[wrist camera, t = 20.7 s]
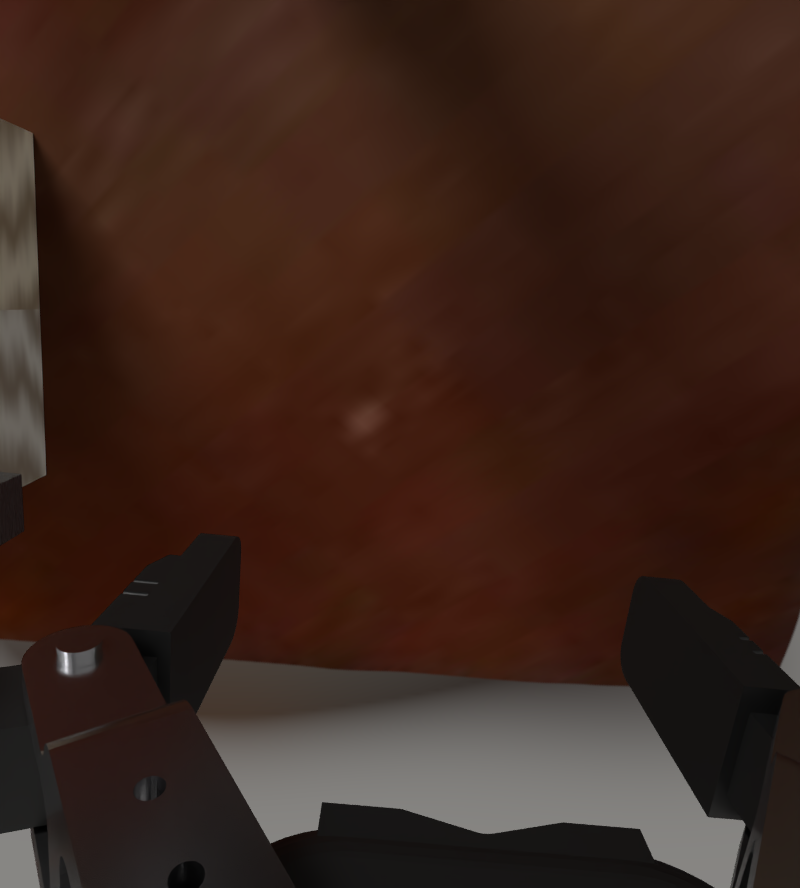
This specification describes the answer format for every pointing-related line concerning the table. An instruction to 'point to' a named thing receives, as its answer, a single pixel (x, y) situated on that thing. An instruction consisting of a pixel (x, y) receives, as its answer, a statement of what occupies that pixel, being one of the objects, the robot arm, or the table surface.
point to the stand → (19, 311)
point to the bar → (10, 506)
